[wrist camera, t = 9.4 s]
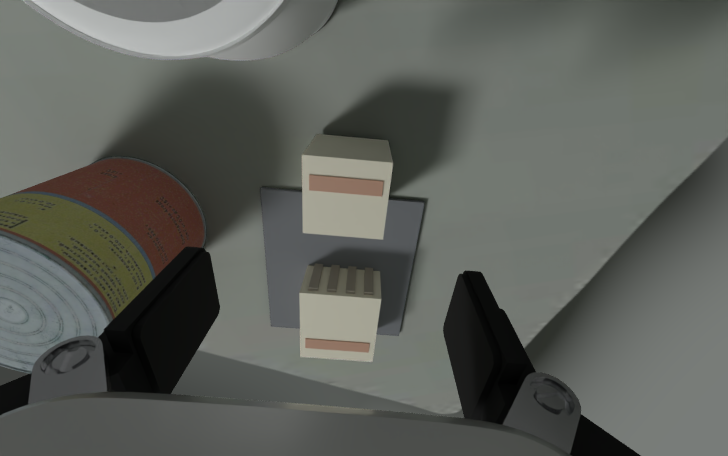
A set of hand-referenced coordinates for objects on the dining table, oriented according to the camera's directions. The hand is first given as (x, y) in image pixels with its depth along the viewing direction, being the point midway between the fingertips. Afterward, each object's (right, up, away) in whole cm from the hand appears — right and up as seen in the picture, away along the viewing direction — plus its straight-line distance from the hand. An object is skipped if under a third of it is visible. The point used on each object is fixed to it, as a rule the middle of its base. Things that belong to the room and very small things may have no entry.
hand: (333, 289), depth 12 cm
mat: (-1, -2, +19) cm, 19 cm away
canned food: (-19, +3, +17) cm, 25 cm away
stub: (0, +7, +14) cm, 16 cm away
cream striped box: (-1, -5, +20) cm, 21 cm away
